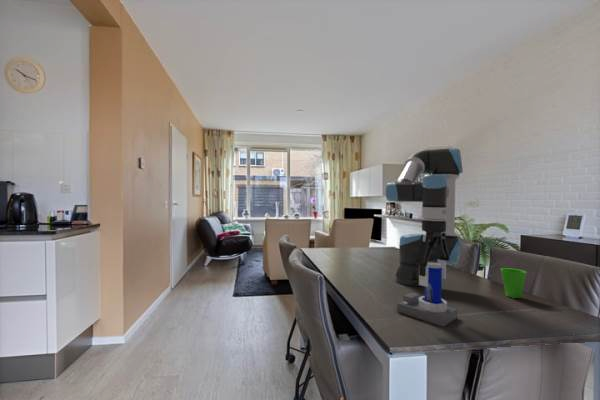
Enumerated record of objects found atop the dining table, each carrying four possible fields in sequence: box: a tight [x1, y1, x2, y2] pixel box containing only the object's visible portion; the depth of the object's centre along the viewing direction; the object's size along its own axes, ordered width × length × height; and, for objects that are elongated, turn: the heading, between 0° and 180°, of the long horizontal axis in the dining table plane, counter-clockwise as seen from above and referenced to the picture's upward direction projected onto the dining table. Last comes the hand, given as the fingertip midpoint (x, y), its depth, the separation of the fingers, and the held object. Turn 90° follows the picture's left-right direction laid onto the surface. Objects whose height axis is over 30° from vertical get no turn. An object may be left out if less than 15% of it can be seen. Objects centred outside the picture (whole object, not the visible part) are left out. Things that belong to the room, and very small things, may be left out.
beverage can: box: [424, 262, 443, 304], centre depth 99 cm, size 5×5×15 cm
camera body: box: [396, 291, 458, 327], centre depth 101 cm, size 16×11×6 cm
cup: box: [499, 267, 528, 299], centre depth 122 cm, size 9×9×11 cm
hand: (432, 281), depth 99 cm, fingers open, 13 cm apart
